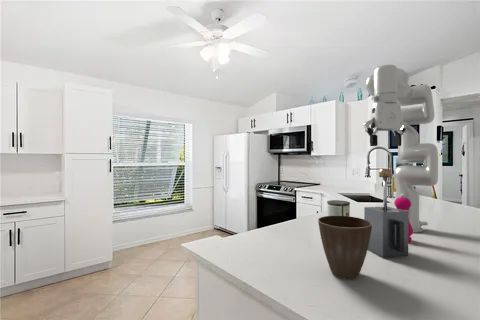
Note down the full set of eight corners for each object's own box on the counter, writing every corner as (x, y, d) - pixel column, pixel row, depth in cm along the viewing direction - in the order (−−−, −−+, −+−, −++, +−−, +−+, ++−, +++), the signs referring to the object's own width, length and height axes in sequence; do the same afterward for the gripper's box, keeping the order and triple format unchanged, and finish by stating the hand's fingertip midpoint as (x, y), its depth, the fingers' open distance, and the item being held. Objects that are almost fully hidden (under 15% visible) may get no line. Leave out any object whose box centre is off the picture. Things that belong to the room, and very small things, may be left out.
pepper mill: (416, 244, 101) (416, 195, 101) (396, 242, 102) (396, 194, 102) (408, 238, 108) (408, 192, 108) (390, 237, 109) (389, 192, 109)
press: (387, 246, 97) (387, 206, 98) (415, 259, 85) (414, 213, 85) (364, 248, 96) (364, 207, 96) (388, 261, 83) (388, 214, 83)
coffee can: (329, 226, 127) (329, 199, 127) (351, 229, 122) (351, 201, 122) (324, 231, 119) (324, 202, 119) (348, 235, 113) (348, 204, 113)
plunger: (386, 213, 96) (386, 168, 96) (401, 217, 89) (401, 169, 89) (370, 213, 95) (370, 168, 95) (383, 218, 88) (383, 169, 88)
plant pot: (345, 291, 65) (345, 230, 65) (308, 268, 78) (307, 218, 78) (384, 280, 71) (383, 224, 71) (343, 260, 84) (343, 213, 84)
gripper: (370, 97, 87) (371, 145, 87) (414, 98, 89) (414, 145, 89) (357, 101, 94) (358, 146, 94) (398, 102, 97) (398, 146, 97)
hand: (385, 146), depth 92 cm, fingers open, 9 cm apart
